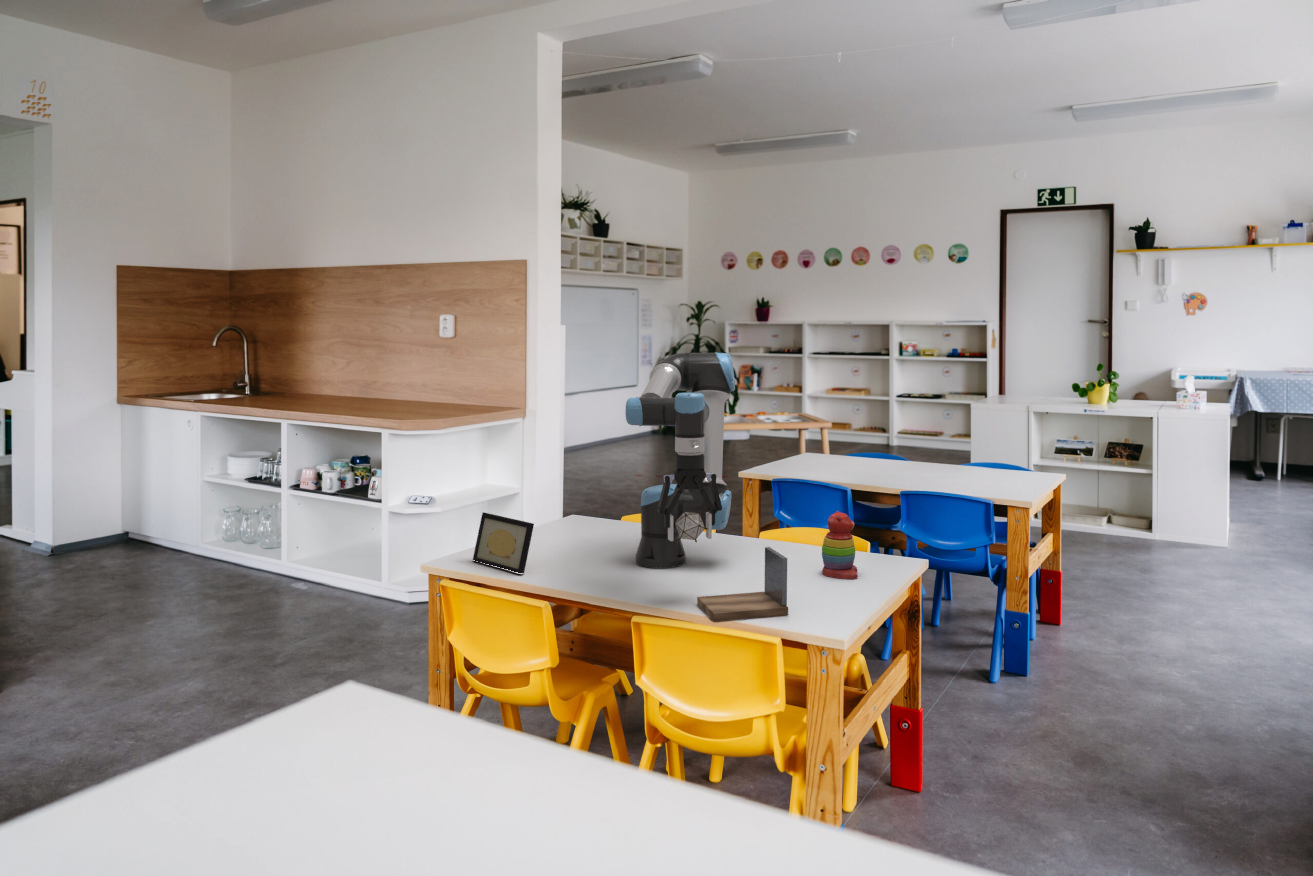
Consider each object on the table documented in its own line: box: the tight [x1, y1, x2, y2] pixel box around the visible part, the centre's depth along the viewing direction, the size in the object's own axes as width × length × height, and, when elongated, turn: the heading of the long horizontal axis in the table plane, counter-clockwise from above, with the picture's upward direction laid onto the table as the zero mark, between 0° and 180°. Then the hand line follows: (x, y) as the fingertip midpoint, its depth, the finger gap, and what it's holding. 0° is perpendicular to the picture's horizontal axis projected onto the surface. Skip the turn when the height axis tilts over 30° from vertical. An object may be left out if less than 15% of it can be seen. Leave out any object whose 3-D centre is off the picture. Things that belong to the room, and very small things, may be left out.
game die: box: [673, 509, 708, 543], centre depth 233 cm, size 9×8×10 cm
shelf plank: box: [696, 591, 789, 623], centre depth 225 cm, size 14×19×2 cm
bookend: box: [764, 546, 788, 607], centre depth 226 cm, size 12×1×12 cm, turn 14°
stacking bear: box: [821, 510, 859, 580], centre depth 256 cm, size 11×10×18 cm
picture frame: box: [472, 512, 535, 574], centre depth 268 cm, size 23×9×15 cm, turn 47°
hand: (689, 538), depth 234 cm, fingers closed on game die, 9 cm apart
